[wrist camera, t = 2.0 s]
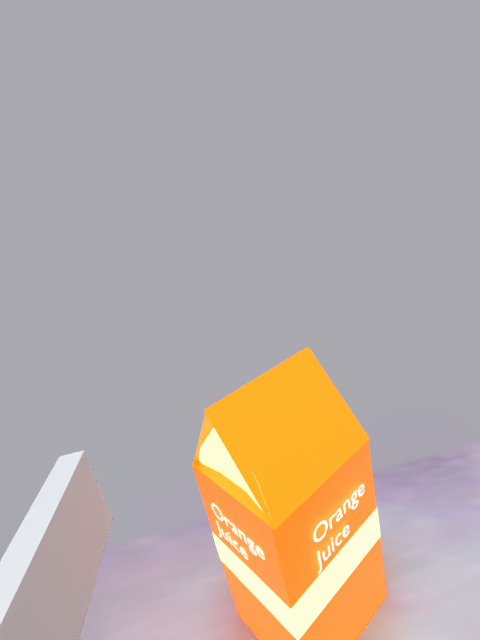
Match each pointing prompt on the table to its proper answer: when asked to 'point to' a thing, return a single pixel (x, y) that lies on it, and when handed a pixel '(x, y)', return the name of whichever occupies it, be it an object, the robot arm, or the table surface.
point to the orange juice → (293, 505)
